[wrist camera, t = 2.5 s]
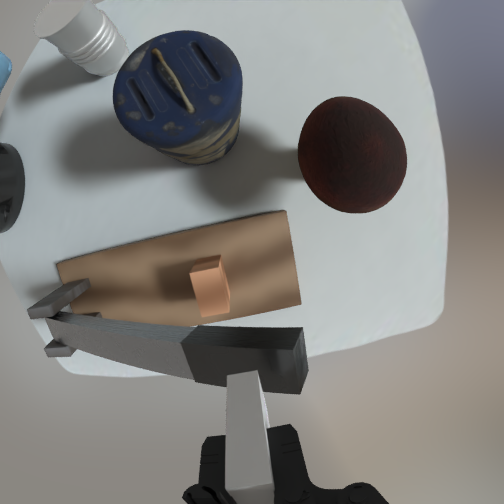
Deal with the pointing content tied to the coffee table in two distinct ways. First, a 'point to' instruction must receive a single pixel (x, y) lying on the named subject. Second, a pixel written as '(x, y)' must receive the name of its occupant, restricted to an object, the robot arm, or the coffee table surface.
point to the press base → (182, 277)
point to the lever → (192, 349)
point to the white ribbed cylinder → (83, 35)
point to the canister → (181, 96)
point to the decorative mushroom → (351, 155)
